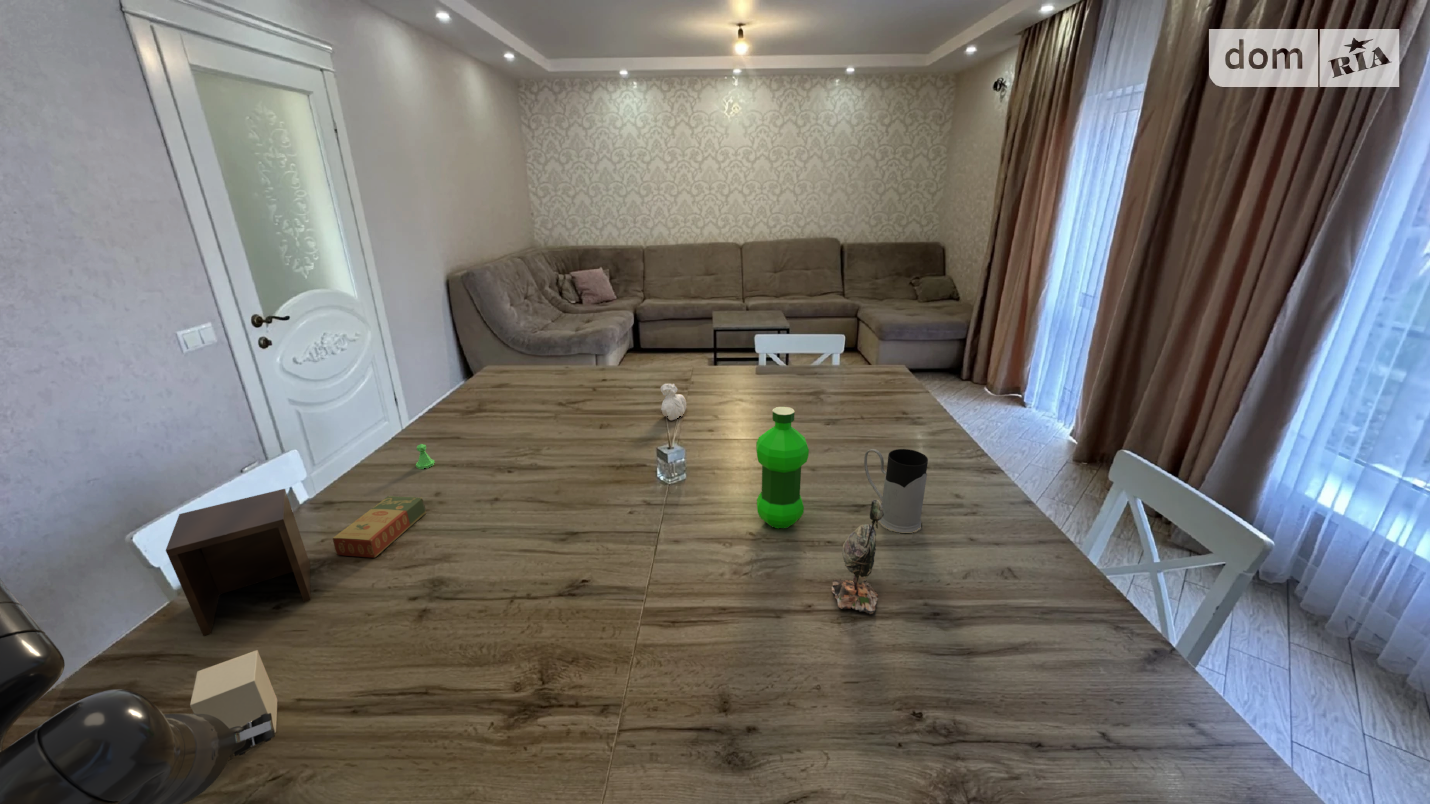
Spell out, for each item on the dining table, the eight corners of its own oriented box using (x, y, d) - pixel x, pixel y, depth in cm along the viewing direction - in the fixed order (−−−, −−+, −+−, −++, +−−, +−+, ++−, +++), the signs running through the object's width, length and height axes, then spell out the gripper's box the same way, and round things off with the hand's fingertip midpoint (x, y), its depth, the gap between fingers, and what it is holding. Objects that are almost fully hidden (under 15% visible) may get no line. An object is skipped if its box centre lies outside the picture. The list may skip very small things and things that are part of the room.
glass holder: (906, 539, 109) (915, 471, 103) (848, 509, 119) (853, 447, 114) (930, 523, 114) (940, 458, 108) (872, 496, 124) (879, 435, 119)
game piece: (427, 469, 138) (423, 448, 136) (412, 468, 138) (407, 447, 136) (438, 462, 142) (434, 440, 140) (423, 460, 142) (418, 439, 140)
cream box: (215, 758, 68) (189, 705, 64) (220, 723, 72) (197, 671, 69) (276, 732, 71) (254, 680, 68) (277, 700, 75) (257, 649, 72)
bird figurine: (883, 578, 98) (895, 479, 91) (874, 621, 88) (887, 514, 81) (837, 567, 101) (845, 470, 94) (823, 608, 91) (832, 503, 84)
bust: (681, 415, 175) (661, 386, 175) (698, 404, 171) (677, 374, 171) (663, 429, 165) (642, 398, 165) (680, 418, 161) (658, 386, 161)
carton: (336, 556, 105) (330, 537, 104) (391, 511, 120) (387, 493, 119) (376, 558, 104) (370, 539, 103) (427, 513, 119) (423, 495, 118)
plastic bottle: (799, 539, 109) (806, 423, 100) (748, 530, 112) (750, 417, 103) (808, 513, 118) (815, 404, 109) (760, 505, 121) (763, 399, 112)
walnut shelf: (203, 636, 86) (165, 550, 81) (212, 593, 96) (179, 513, 90) (310, 600, 94) (283, 519, 88) (310, 564, 103) (285, 488, 97)
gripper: (250, 682, 53) (289, 689, 66) (48, 760, 46) (138, 749, 59) (264, 765, 50) (301, 754, 64) (54, 859, 43) (146, 825, 57)
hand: (223, 752), depth 62 cm, fingers closed
